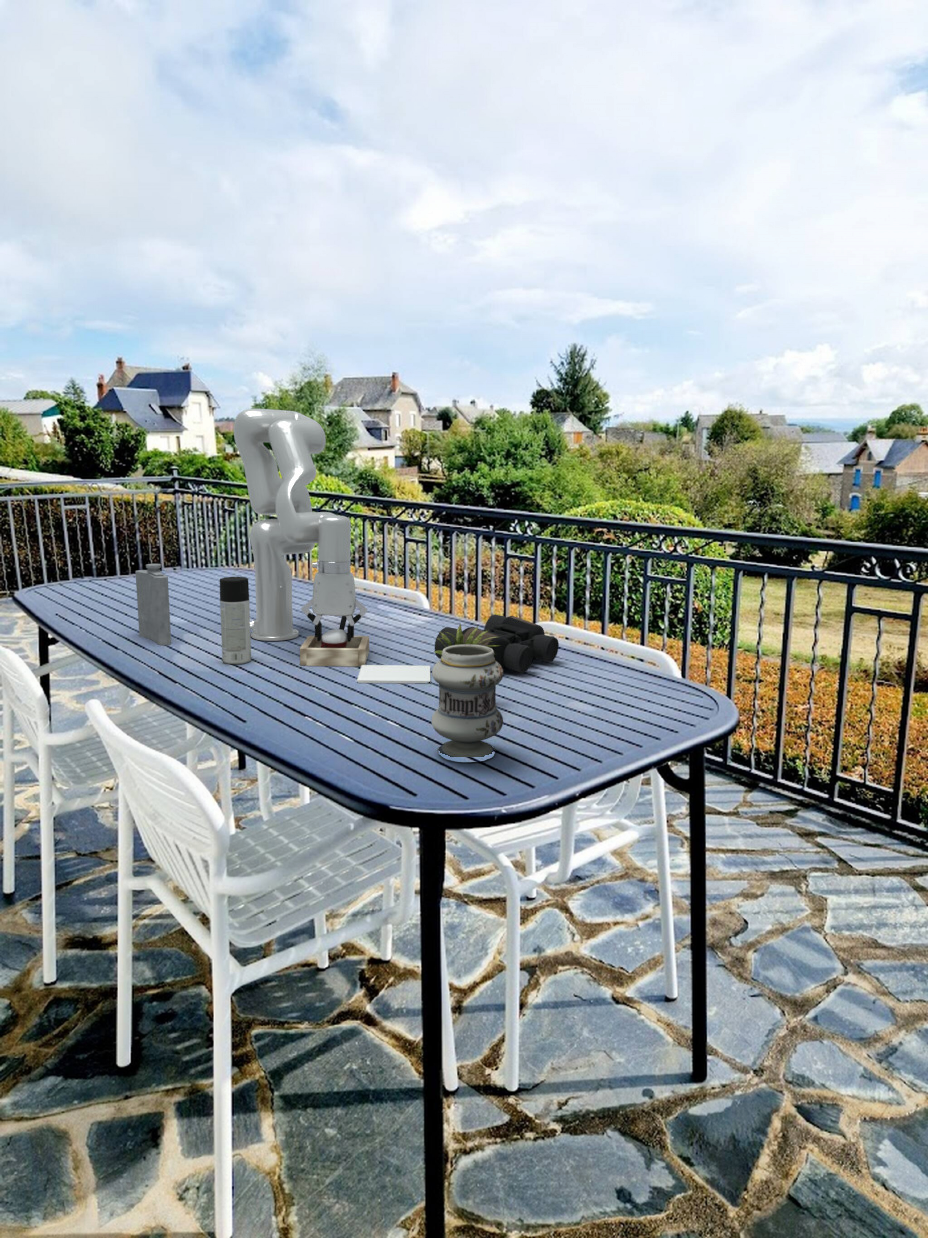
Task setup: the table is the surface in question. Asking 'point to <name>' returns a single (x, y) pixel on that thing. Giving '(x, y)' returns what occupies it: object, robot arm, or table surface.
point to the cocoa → (335, 636)
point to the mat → (393, 674)
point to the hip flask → (153, 604)
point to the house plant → (460, 639)
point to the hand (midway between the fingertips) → (334, 639)
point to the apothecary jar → (467, 700)
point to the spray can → (235, 620)
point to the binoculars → (509, 641)
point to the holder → (335, 653)
